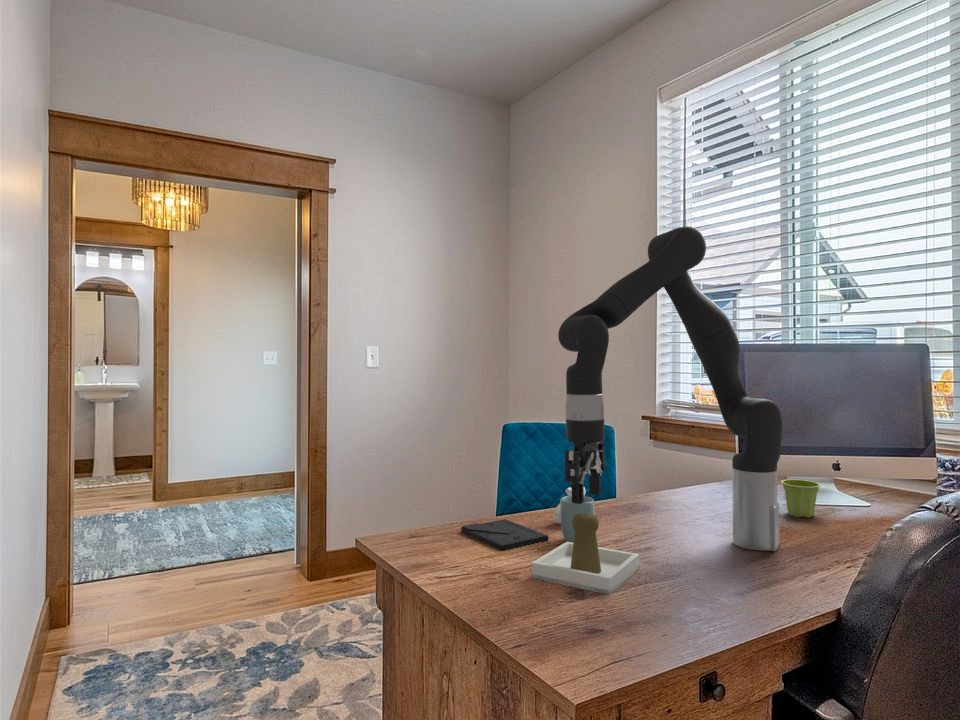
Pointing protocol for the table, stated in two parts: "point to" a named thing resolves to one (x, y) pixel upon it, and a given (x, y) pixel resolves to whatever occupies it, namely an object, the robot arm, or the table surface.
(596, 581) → the tray
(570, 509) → the cup
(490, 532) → the picture frame
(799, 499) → the plant pot
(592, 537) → the olive rounded piece
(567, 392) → the robot arm
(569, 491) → the bust
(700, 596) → the table surface
